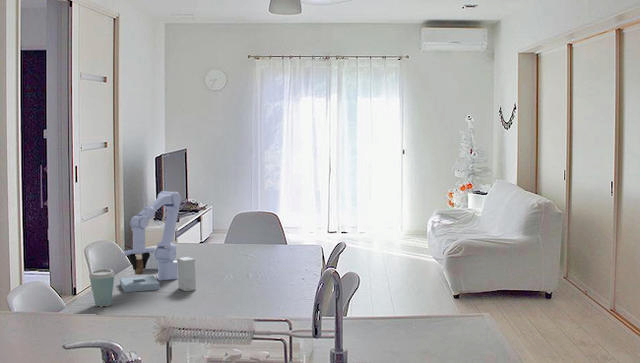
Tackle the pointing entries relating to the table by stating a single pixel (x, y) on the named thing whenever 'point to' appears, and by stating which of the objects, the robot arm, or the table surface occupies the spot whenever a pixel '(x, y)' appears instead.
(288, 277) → the table surface
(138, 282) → the socket block
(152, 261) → the photo printer
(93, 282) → the disposable coffee cup
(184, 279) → the skincare box
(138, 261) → the walnut peg
